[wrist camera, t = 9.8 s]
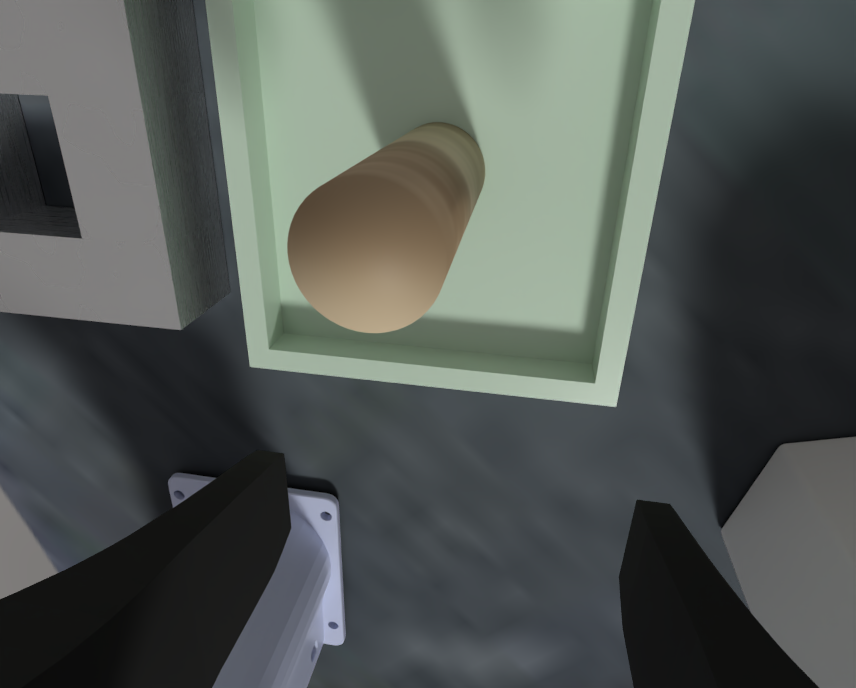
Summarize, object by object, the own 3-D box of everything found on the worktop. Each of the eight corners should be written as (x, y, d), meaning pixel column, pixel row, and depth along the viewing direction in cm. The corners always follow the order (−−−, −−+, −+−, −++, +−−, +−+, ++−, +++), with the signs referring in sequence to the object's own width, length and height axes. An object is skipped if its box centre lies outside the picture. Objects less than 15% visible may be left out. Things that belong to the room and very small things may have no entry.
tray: (610, 378, 22) (616, 406, 20) (272, 343, 23) (249, 366, 22) (696, -91, 15) (716, -110, 14) (228, -88, 17) (192, -105, 15)
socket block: (230, 292, 23) (181, 330, 20) (1, 272, 24) (-79, 303, 21) (190, -9, 18) (119, -23, 15) (-87, -13, 20) (-204, -26, 17)
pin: (482, 221, 19) (443, 339, 11) (392, 216, 20) (293, 325, 12) (488, 124, 18) (448, 180, 10) (391, 120, 18) (280, 171, 10)
